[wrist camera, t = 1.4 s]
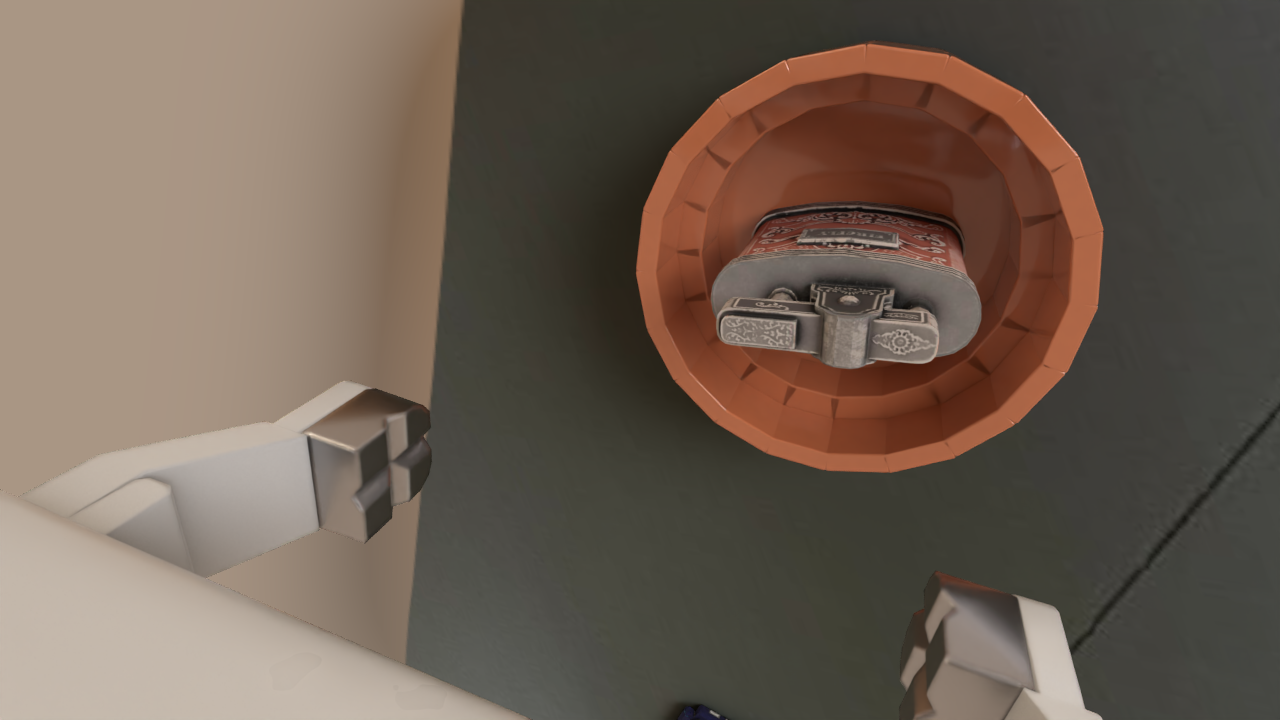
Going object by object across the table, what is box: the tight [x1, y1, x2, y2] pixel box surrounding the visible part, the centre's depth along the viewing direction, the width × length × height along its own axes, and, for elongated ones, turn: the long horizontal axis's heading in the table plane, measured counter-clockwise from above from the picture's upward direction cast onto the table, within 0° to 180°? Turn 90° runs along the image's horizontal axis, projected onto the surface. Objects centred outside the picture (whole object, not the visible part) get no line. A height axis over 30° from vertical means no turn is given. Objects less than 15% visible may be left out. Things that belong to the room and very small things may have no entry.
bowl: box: [636, 40, 1104, 473], centre depth 25 cm, size 15×15×6 cm
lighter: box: [711, 201, 981, 369], centre depth 23 cm, size 8×3×10 cm, turn 93°
